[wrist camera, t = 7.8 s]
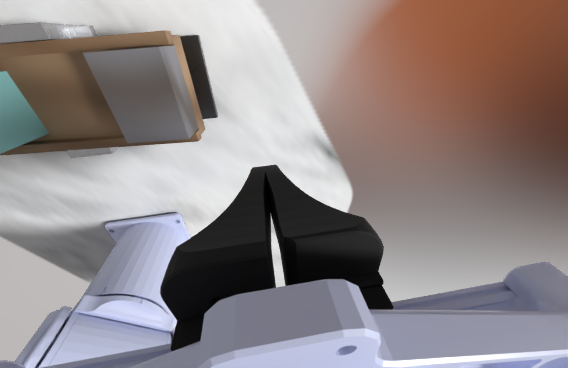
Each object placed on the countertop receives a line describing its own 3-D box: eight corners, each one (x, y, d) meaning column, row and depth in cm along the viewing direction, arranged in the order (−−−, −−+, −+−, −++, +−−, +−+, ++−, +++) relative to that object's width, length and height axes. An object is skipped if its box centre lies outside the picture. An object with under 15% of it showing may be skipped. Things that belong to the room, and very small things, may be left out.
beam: (208, 128, 18) (192, 149, 14) (-9, 143, 18) (-72, 167, 15) (182, 31, 14) (153, 30, 11) (-86, 54, 15) (-192, 58, 11)
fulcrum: (220, 127, 20) (216, 141, 18) (-4, 152, 19) (-45, 171, 16) (194, 16, 16) (184, 12, 13) (-104, 38, 14) (-184, 38, 12)
